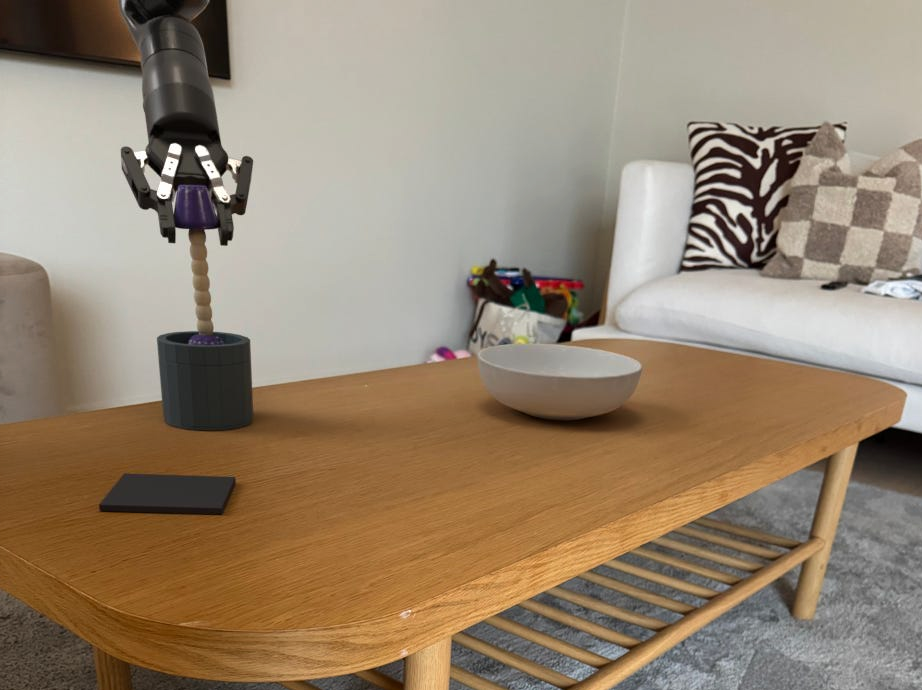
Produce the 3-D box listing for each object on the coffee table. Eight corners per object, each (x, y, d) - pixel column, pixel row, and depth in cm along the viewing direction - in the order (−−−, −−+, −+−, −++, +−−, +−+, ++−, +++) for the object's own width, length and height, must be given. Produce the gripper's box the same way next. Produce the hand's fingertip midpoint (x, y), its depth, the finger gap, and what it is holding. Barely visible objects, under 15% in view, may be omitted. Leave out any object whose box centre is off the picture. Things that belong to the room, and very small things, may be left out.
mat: (99, 511, 80) (98, 504, 80) (124, 479, 88) (123, 473, 88) (221, 514, 81) (221, 508, 81) (235, 483, 89) (235, 476, 89)
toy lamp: (196, 356, 103) (186, 185, 96) (172, 349, 106) (161, 182, 98) (234, 353, 106) (227, 187, 99) (210, 346, 109) (202, 184, 102)
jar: (156, 428, 104) (148, 343, 100) (173, 408, 113) (166, 329, 109) (247, 432, 106) (243, 348, 102) (257, 411, 114) (254, 333, 110)
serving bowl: (441, 403, 124) (443, 348, 121) (555, 389, 137) (559, 339, 134) (554, 440, 111) (560, 380, 108) (668, 421, 123) (677, 366, 120)
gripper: (108, 72, 98) (124, 208, 93) (250, 87, 103) (272, 217, 98) (111, 131, 105) (126, 261, 100) (244, 142, 110) (265, 266, 105)
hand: (198, 238), depth 99 cm, fingers closed on toy lamp, 4 cm apart
